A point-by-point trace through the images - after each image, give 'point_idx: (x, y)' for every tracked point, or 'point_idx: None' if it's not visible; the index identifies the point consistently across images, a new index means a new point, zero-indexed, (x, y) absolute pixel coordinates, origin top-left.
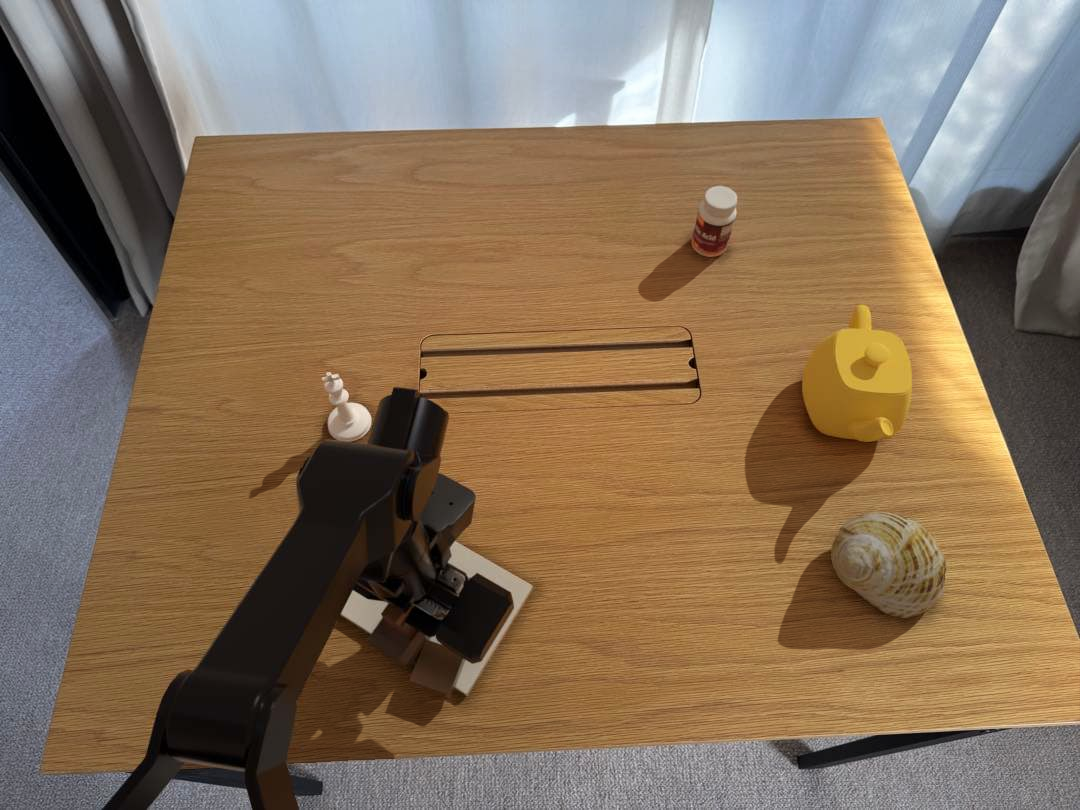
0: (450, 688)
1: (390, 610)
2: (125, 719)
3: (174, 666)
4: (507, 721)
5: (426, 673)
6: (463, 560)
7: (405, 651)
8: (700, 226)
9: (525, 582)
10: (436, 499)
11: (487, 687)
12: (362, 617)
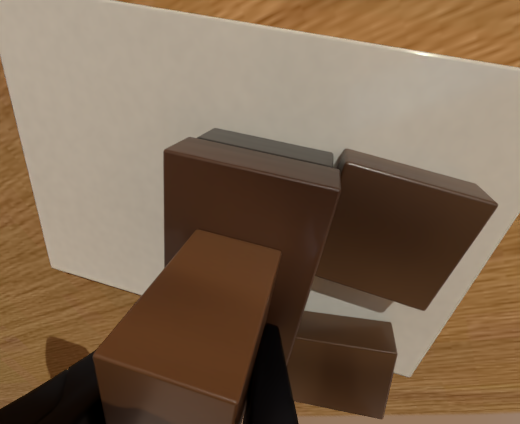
0: (382, 411)
1: None
2: (17, 393)
3: (4, 353)
4: (507, 386)
5: (317, 389)
6: (294, 83)
7: None
8: None
9: None
10: None
11: (448, 341)
12: (144, 284)
